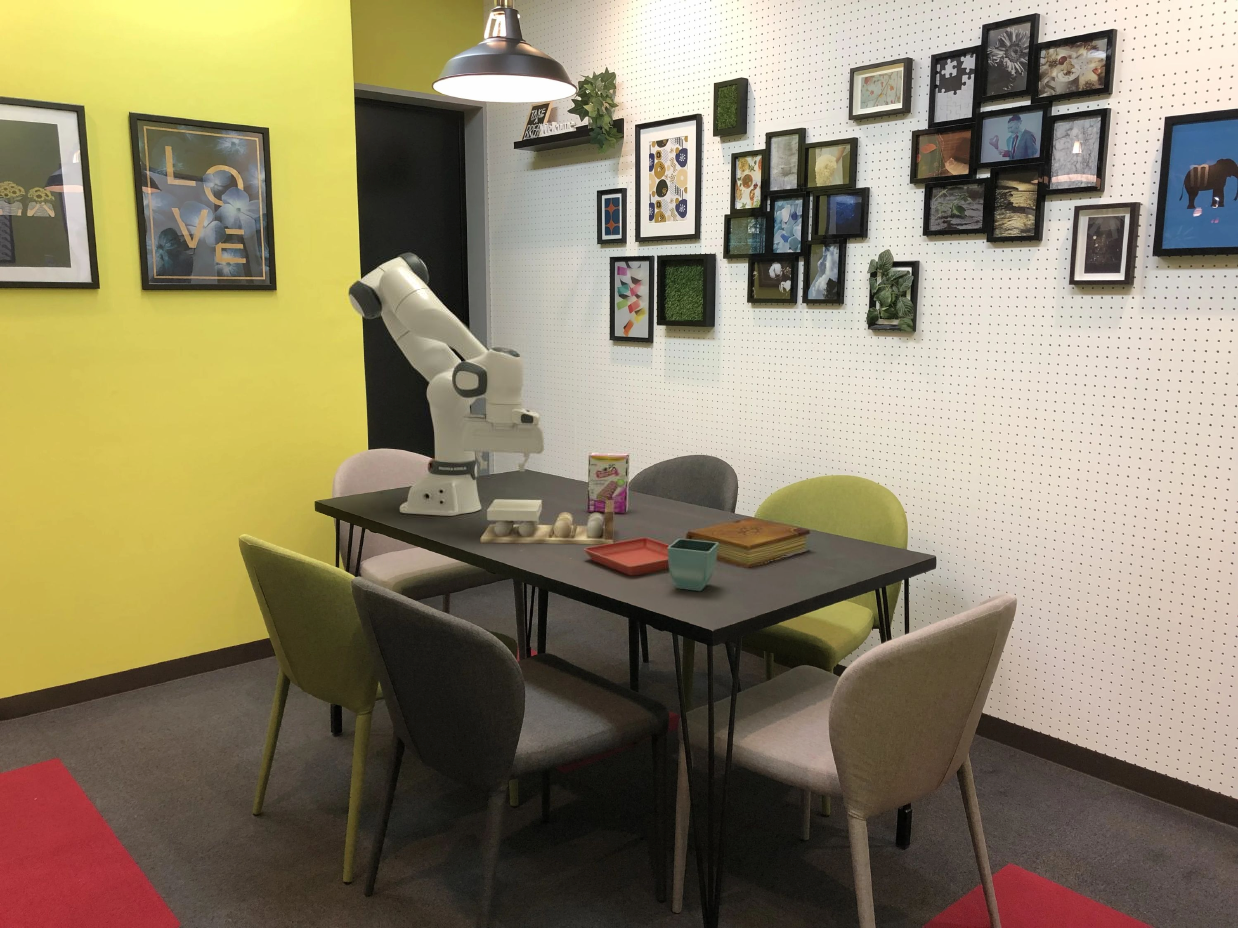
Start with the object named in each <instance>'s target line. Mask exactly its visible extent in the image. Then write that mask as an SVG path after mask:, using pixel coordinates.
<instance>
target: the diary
mask: <svg viewBox="0 0 1238 928" xmlns="http://www.w3.org/2000/svg"><path fill="white" fill-rule="evenodd" d="M810 534H811V530H810V529H806V528H802V527H797V526H792V525H787V524H782V523H778V522H772V521H768V520H765V519H764V520H763V519H760V518H753V517H747V518H743V519H737V520H735V521H734V520H733V521H730V522H729V521H728V522H726V523H721V524H716V525H711V526H706V527H703V528H697V529H694V530H693V529H692V530H689V531H688V532H687V533H686V534H685V539H689V540H699V541H708V542H717V543H719V545H718V552H717V559H716V561H719V562H723V563H727V564H730V563H731V565H734V564H735V565H734V566H738V565H740V566H739V567H741V566H743V567H742V568H745V567H746V568H745V569H750V568H749V567H751V568H754V567H756V566H755V565H758V566H760V565H759V564H761V563H765V562H768V561H771V560H775V559H777V558H781V557H782V556H787V555H786V554H789V553H793V552H796V551H799V550H802V549H805V548H806V544H807V543H806V541H807V540H806V539H807V535H810ZM765 564H766V563H765ZM753 566H754V567H753Z"/></svg>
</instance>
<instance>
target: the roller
mask: <svg viewBox="0 0 1238 928" xmlns="http://www.w3.org/2000/svg"><path fill="white" fill-rule="evenodd" d="M573 521H574V518H573V515H572V514H571V513H569V512H566V511H563V512H561V513H559V515H557V519H556V521H555V523H554V524H555V526H554V533H555V535H556V536H558V537H560V538H564V537H566V536H568V534H569V533H570V529H571V526H573Z"/></svg>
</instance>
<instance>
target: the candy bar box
mask: <svg viewBox="0 0 1238 928" xmlns="http://www.w3.org/2000/svg"><path fill="white" fill-rule="evenodd" d="M587 474H588V475H587V477H588V479H587V480H588V481H587V482H588V483H587V512H588V513H600V514H602V513H603V514H605V507H606V500H614V514H627V513H628V510H629V488H630V487H629V484H630V483H629V481H630V476H629V475H630V454H628V453H609V452H607V453H605V452H590V453H589V454H588V473H587Z"/></svg>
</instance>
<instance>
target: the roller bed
mask: <svg viewBox="0 0 1238 928" xmlns="http://www.w3.org/2000/svg"><path fill="white" fill-rule="evenodd" d="M515 523H516V521H509V520H496V522H495V524H489V525H488V527H487V528H486V530H485V531H484V533H483V534H482V535H481V537H480V543H494V544H495V543H499V544H501V543H502V544H506V543H508V544H556V545H557V544H567V545H605V544H610V543H614V534H615V533H614V532H615V513H614V500H606V507H605V513H604V515H602V513H599V512H591V514H590V515H589V516H588V520H587V525H578V523H574V524H573V525H572V526H571V529H570V533H569V534H568V536H566V537H564V538H560V537H558V536H556V535H555V533H554V526H555V523H552V525H550V524H549V525H548V524H547V525H545V524H539V523H540V516H539V517H538V519H537V521H520V524H515Z"/></svg>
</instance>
